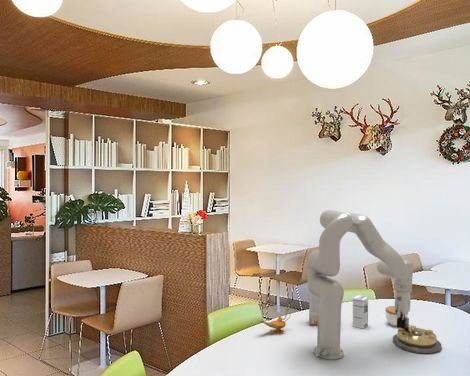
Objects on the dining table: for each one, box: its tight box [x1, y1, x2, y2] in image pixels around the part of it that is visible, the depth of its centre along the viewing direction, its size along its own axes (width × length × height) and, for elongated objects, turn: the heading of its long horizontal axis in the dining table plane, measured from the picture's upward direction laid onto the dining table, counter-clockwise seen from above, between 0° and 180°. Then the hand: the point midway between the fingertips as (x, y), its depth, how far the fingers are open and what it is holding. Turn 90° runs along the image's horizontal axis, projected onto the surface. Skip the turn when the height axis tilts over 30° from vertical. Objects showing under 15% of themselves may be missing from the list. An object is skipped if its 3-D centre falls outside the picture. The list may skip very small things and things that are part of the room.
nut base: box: [392, 333, 442, 355], centre depth 196 cm, size 20×20×2 cm
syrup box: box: [352, 295, 369, 330], centre depth 217 cm, size 6×6×14 cm
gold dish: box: [397, 317, 438, 348], centre depth 195 cm, size 16×16×8 cm
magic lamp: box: [259, 306, 292, 335], centre depth 208 cm, size 7×18×11 cm, turn 122°
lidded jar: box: [385, 305, 409, 327], centre depth 220 cm, size 11×11×9 cm
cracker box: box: [308, 290, 321, 326], centre depth 219 cm, size 14×6×21 cm, turn 84°
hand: (400, 327), depth 199 cm, fingers closed
